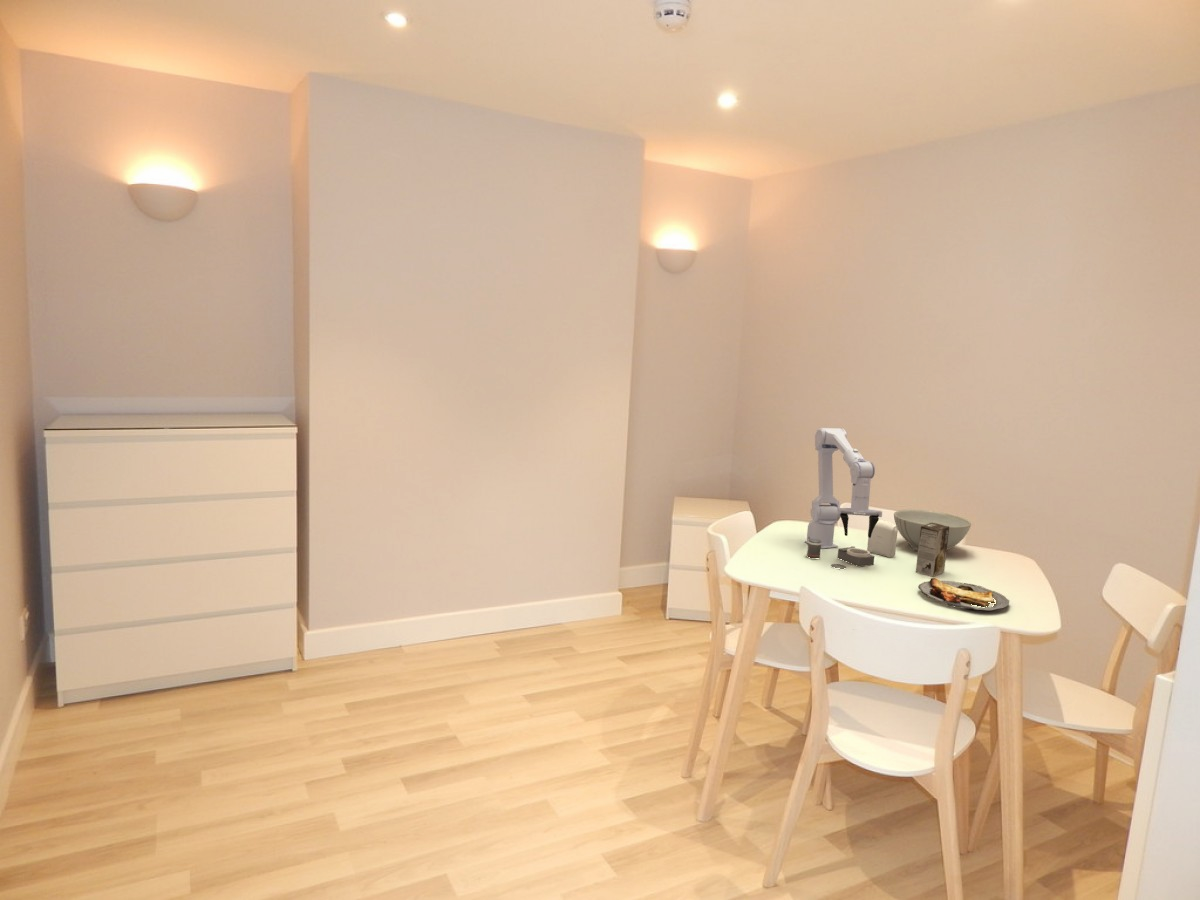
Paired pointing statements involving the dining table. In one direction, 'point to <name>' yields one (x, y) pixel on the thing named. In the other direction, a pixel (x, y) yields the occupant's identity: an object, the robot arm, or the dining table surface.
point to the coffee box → (932, 549)
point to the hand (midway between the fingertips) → (857, 536)
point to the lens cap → (838, 566)
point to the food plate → (963, 594)
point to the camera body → (856, 556)
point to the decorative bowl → (914, 519)
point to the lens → (814, 548)
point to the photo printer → (883, 539)
